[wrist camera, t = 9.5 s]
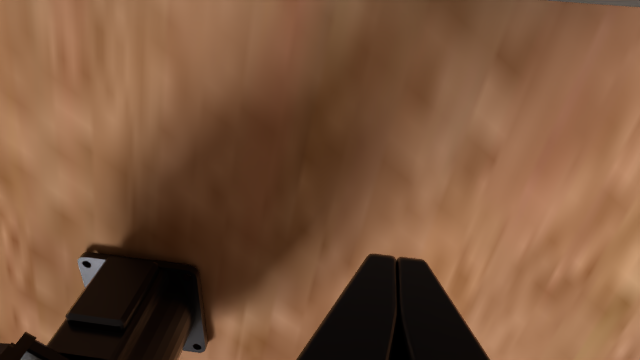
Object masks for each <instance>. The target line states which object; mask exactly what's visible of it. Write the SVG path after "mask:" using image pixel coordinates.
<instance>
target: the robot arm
mask: <svg viewBox="0 0 640 360" xmlns="http://www.w3.org/2000/svg"><path fill="white" fill-rule="evenodd" d="M78 265H79V269H80V272H81V276H82V279H83V282H84V286H85V289H84V291H83V292H82V293H81V295H80V296H79V297H78V299H77V300H76V302H75V303H74V304H73V306H72V307H71V308H70V310H69V311H68V313H67V314H66V319H65V321H64V322H63V323H62V325H61V326H60V328H59V329H58V330H57V332H56V333H55V334H54V336H53V337H52V339H51V340H50V341H49V343H48V344H47V346H46V345H44V344H42V343H40V342H39V341H37V340H35V339H36V337H34V336H32V335H31V334H29V333H27V332H25V333H24V334H23V336H22V337H21V338H20V339H19V341H18V342H17V343H16V344H14V343H11V344H4V343H0V360H178V359H179V356H180V354H181V352H182V350H184V351H191V352H198V353H201V352H204V351H205V349H206V347H207V344H208V341H207V333H206V324H205V316H204V308H203V300H202V291H201V283H200V275H199V271H198V270H197V268H195V267H194V266H191V265H185V264H177V263H170V262H162V261H154V260H146V259H138V258H130V257H122V256H115V255H107V254H99V253H91V252H85V253H83V254H82V255H81V257H80V258H79V259H78ZM188 274H189V275H188ZM190 275H191V276H190ZM296 360H490V359H489V357H488V356H487V354H486V353H485V351H484V350H483V348H482V347H481V345H480V343H479V342H478V340H477V339H476V337H475V336H474V334H473V333H472V331H471V330H470V328H469V327H468V325H467V324H466V322H465V321H464V319H463V318H462V316H461V315H460V313H459V311H458V310H457V308H456V307H455V305H454V304H453V302H452V301H451V299H450V298H449V296H448V295H447V293H446V292H445V290H444V289H443V287H442V286H441V284H440V282H439V281H438V279H437V278H436V276H435V275H434V273H433V272H432V270H431V269H430V267H429V266H428V264H427V263H426V262H425V261H424V260H422V259H415V258H407V257H399V258H398V259H397V261H396V259H395V257H394V256H390V255H381V254H369V255H368V256H367V257H366V259H365V260H364V262H363V263H362V265H361V266H360V267H359V269H358V270H357V272H356V273H355V275H354V276H353V278H352V279H351V281H350V282H349V284H348V285H347V286H346V288H345V289H344V291H343V292H342V294H341V295H340V297H339V298H338V300H337V301H336V303H335V304H334V305H333V307H332V308H331V310H330V311H329V313H328V314H327V316H326V317H325V319H324V320H323V322H322V323H321V324H320V326H319V327H318V329H317V330H316V332H315V333H314V335H313V336H312V338H311V339H310V341H309V342H308V343H307V345H306V346H305V348H304V349H303V351H302V352H301V354H300V355H299V357H298V358H297V359H296Z"/></svg>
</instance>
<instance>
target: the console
mask: <svg viewBox="0 0 640 360" xmlns="http://www.w3.org/2000/svg"><path fill="white" fill-rule="evenodd" d="M549 1H562V2H576V3H589V4H603V5H616V6H630V7H640V0H549Z"/></svg>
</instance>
